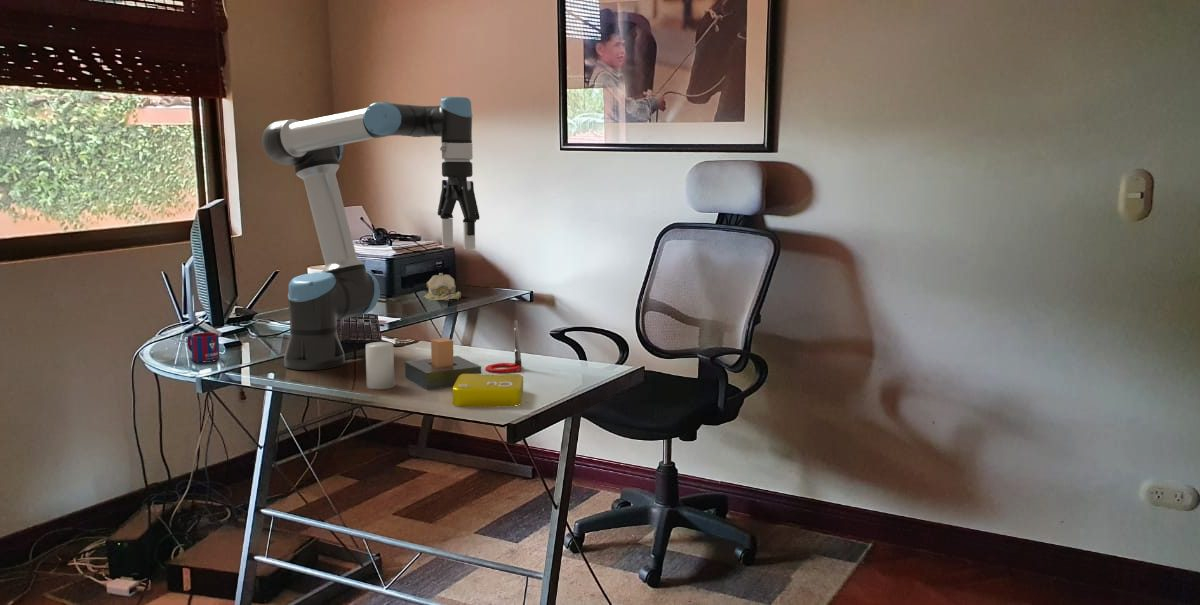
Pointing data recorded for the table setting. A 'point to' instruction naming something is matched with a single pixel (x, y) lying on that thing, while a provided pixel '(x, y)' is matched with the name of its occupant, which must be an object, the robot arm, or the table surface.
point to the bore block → (438, 372)
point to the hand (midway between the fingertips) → (458, 246)
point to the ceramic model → (442, 288)
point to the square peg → (442, 352)
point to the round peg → (380, 365)
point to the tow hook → (513, 366)
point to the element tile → (487, 390)
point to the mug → (204, 346)
